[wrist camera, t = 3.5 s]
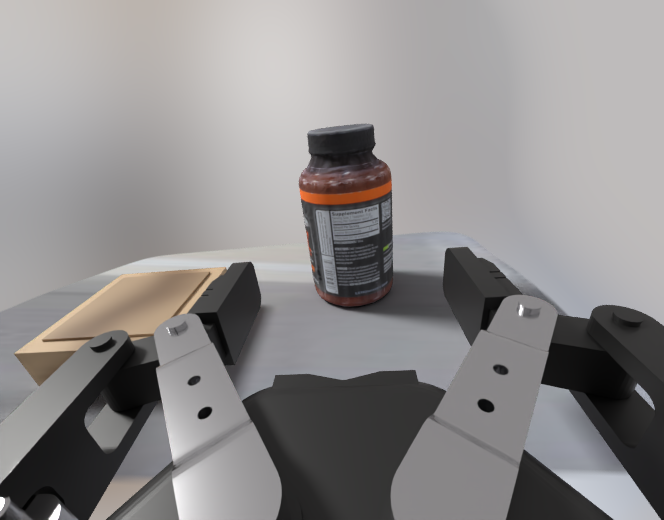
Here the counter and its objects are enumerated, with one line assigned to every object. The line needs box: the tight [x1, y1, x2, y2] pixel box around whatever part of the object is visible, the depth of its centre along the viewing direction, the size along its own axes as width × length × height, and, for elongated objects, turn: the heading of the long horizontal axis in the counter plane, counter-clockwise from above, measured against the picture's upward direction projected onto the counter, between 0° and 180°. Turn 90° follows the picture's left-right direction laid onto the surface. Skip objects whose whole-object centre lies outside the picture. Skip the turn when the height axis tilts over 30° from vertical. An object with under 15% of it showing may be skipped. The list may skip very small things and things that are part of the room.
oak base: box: [14, 267, 227, 386], centre depth 19 cm, size 8×8×3 cm
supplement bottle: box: [299, 124, 393, 307], centre depth 20 cm, size 6×6×11 cm
